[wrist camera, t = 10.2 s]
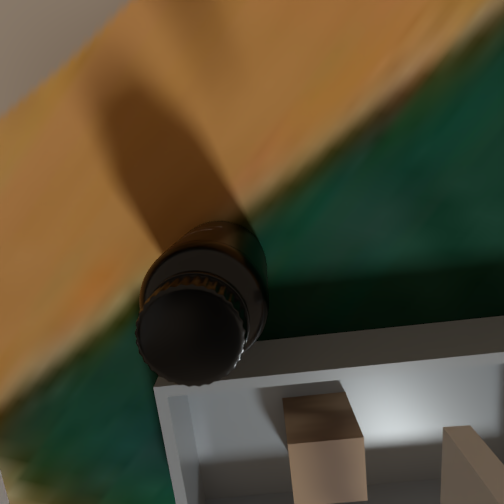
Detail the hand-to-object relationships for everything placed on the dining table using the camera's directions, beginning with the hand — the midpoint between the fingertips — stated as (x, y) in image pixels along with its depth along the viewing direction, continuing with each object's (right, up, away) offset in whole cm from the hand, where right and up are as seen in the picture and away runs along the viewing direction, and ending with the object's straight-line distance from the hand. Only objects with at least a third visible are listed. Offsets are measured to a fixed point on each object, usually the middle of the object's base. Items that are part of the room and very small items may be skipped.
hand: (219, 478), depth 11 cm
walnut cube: (+6, -7, +18) cm, 21 cm away
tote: (+9, -7, +19) cm, 22 cm away
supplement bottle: (-1, +6, +16) cm, 17 cm away
